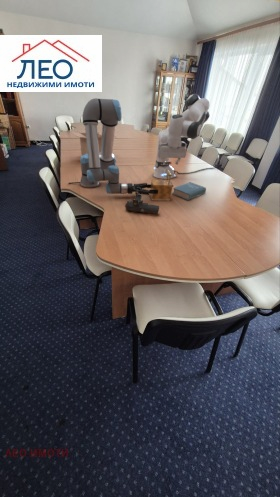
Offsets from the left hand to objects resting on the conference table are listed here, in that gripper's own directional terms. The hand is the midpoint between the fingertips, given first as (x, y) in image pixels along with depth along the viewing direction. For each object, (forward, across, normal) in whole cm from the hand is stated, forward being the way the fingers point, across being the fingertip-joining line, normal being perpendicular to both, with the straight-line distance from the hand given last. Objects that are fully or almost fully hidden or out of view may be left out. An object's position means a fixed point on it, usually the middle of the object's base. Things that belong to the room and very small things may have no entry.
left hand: (156, 189), depth 165 cm
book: (+29, -8, -7) cm, 31 cm away
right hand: (+8, 0, +18) cm, 20 cm away
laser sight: (-14, +24, -7) cm, 28 cm away
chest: (+3, 0, -7) cm, 8 cm away
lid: (+4, 0, +4) cm, 5 cm away
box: (-52, -93, -7) cm, 107 cm away
